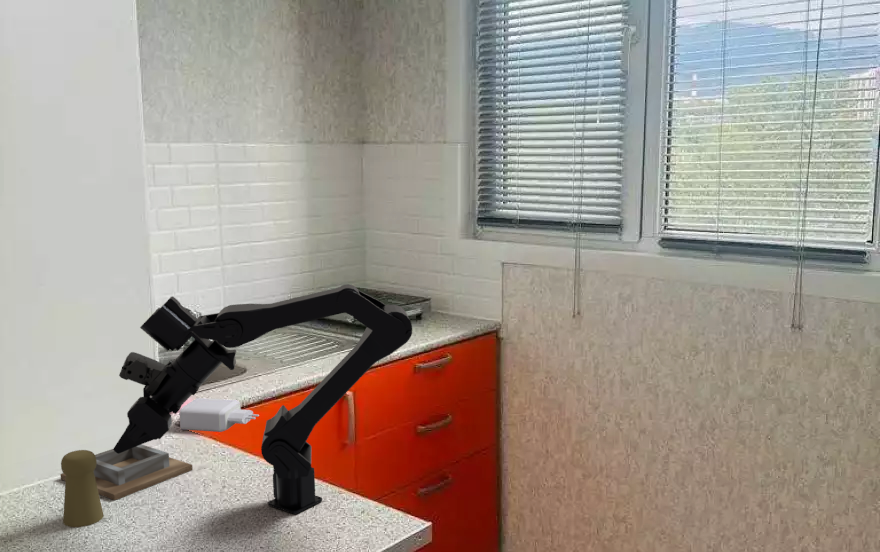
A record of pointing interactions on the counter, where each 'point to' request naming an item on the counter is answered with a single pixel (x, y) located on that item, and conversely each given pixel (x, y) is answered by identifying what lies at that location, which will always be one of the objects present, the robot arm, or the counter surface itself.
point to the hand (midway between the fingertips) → (122, 441)
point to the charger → (213, 415)
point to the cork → (80, 489)
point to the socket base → (134, 470)
